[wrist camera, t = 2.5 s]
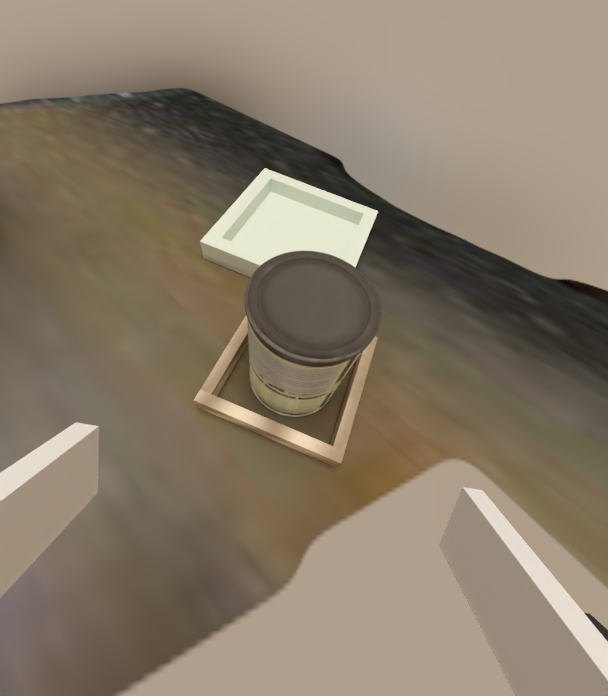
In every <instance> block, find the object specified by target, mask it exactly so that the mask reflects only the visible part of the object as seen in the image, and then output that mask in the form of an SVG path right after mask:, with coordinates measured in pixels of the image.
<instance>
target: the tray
mask: <svg viewBox="0 0 608 696" xmlns="http://www.w3.org/2000/svg"><path fill="white" fill-rule="evenodd" d="M377 213H378V211H376V210H373V209H371V208H368V207H366V206H363V205H360V204H358V203H355V202H352V201H350V200H347V199H345V198H342V197H339V196H337V195H334V194H331V193H329V192H326V191H323V190H321V189H318V188H316V187H313V186H310V185H308V184H305V183H302V182H300V181H297V180H295V179H292V178H289V177H287V176H284V175H281V174H279V173H276V172H274V171H271V170H268V169H266V168H264V170H263V171H262V172H261V173H260V174H259V175H258V176H257V177H256V179H255V180H254V181H253V182H252V183H251V184H250V185H249V187H248V188H247V189H246V190H245V191H244V192H243V193H242V194H241V196H240V197H239V198H238V199H237V200H236V201H235V202H234V203H233V205H232V206H231V207H230V208H229V209H228V210H227V211H226V212H225V214H224V215H223V216H222V217H221V218H220V219H219V220H218V222H217V223H216V224H215V225H214V226H213V227H212V228H211V229H210V231H209V232H208V233H207V234H206V235H205V236H204V237H203V238H202V240H201V241H200V244H201V249H202V254H203V259H206V260H208V261H211V262H213V263H216V264H218V265H220V266H223V267H225V268H228V269H230V270H233V271H235V272H238V273H240V274H243V275H245V276H248V277H250V278H251V276H252V275H253V273H254V272H255V271H256V270H257V268H259V267H260V266H261V265H262V264H263V263H264V262H266V261H268V260H269V259H271V258H273V257H275V256H278V255H280V254H284V253H288V252H293V251H316V252H322V253H326V254H330V255H333V256H335V257H338V258H340V259H342V260H344V261H346V262H347V263H349V264H351V265H352V266H354V267H356V265H357V262H358V260H359V257H360V255H361V252H362V250H363V248H364V245H365V243H366V240H367V238H368V235H369V233H370V230H371V228H372V225H373V223H374V220H375V218H376V215H377Z"/></svg>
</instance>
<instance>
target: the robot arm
mask: <svg viewBox="0 0 608 696" xmlns="http://www.w3.org/2000/svg"><path fill="white" fill-rule="evenodd" d="M98 448H99V426H94V425H88V424H82V423H74V424H73V425H71V426H70V427H68V428H67V429H65V430H64V431H62V432H61V433H59V434H58V435H56V436H55V437H53V438H52V439H50V440H49V441H47V442H46V443H44V444H43V445H41V446H40V447H38V448H37V449H35V450H34V451H32V452H31V453H29V454H28V455H26V456H25V457H23V458H22V459H20V460H19V461H17V462H16V463H14V464H13V465H11V466H10V467H8V468H7V469H5V470H4V471H2V472H1V473H0V598H1V597H2V596H3V594H4V593H5V592H6V591H7V590H8V589H9V588H10V587H11V586H12V585H13V584H14V583H15V581H16V580H17V579H18V578H19V577H20V576H21V575H22V574H23V573H24V572H25V571H26V570H27V568H28V567H29V566H30V565H31V564H32V563H33V562H34V561H35V560H36V559H37V558H38V557H39V556H40V554H41V553H42V552H43V551H44V550H45V549H46V548H47V547H48V546H49V545H50V544H51V543H52V541H53V540H54V539H55V538H56V537H57V536H58V535H59V534H60V533H61V532H62V531H63V530H64V528H65V527H66V526H67V525H68V524H69V523H70V522H71V521H72V520H73V519H74V518H75V517H76V515H77V514H78V513H79V512H80V511H81V510H82V509H83V508H84V507H85V506H86V505H87V504H88V502H89V501H90V500H91V499H92V498H93V497H94V496H95V495H96V494H97V493H98ZM440 547H441V549H442V551H443V553H444V555H445V557H446V559H447V561H448V563H449V565H450V567H451V569H452V571H453V573H454V575H455V577H456V579H457V581H458V583H459V585H460V587H461V589H462V591H463V593H464V595H465V597H466V599H467V601H468V603H469V605H470V607H471V609H472V611H473V613H474V615H475V617H476V619H477V621H478V622H479V625H480V627H481V629H482V631H483V633H484V635H485V637H486V638H487V641H488V643H489V645H490V646H491V649H492V650H493V653H494V654H495V656H496V658H497V660H498V662H499V664H500V666H501V668H502V670H503V672H504V674H505V676H506V678H507V680H508V682H509V684H510V686H511V688H512V690H513V692H514V694H515V696H608V630H607V629H606V628H605V627H604V626H603V625H601V624H600V623H599V622H598V621H597V620H596V619H595V618H594V617H593V616H591V615H590V614H587V613H584V612H583V611H582V610H581V609H580V608H579V606H578V605H577V604H576V603H575V602H574V601H573V599H572V598H571V597H570V596H569V594H568V593H567V592H566V591H565V590H564V588H563V587H562V586H561V585H560V584H559V582H558V581H557V580H556V579H555V577H554V576H553V575H552V574H551V573H550V571H549V570H548V569H547V568H546V567H545V565H544V564H543V563H542V562H541V561H540V559H539V558H538V557H537V556H536V555H535V553H534V552H533V551H532V550H531V548H530V547H529V546H528V545H527V544H526V542H525V541H524V540H523V539H522V538H521V536H520V535H519V534H518V533H517V532H516V530H515V529H514V528H513V527H512V526H511V525H510V523H509V522H508V521H507V519H506V518H505V517H504V516H503V515H502V514H501V512H500V511H499V510H498V509H497V507H496V506H495V505H494V504H493V503H492V501H491V500H490V499H489V498H488V497H487V495H486V494H485V493H484V492H483V491H482V490H477V489H471V488H464V487H463V488H462V490H461V493H460V495H459V498H458V500H457V503H456V505H455V508H454V510H453V513H452V515H451V517H450V520H449V523H448V525H447V527H446V530H445V532H444V535H443V537H442V540H441V542H440Z"/></svg>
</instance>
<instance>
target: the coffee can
mask: <svg viewBox="0 0 608 696" xmlns="http://www.w3.org/2000/svg"><path fill="white" fill-rule="evenodd" d="M245 310H246V315H247V323H248V342H249V363H250V372H249V378H250V384H251V387H252V390H253V392H254V394H255V395H256V397H257V398H258V400H259V401H260V402H261V403H262V404H263V405H264V406H265V407H266V408H268V409H269V410H271V411H273V412H275V413H277V414H280V415H283V416H288V417H302V416H306V415H310V414H312V413H315V412H317V411H318V410H320V409H321V408H322V407H324V406H325V405H326V404H327V403H328V401H329V400H330V398H331V397H332V395H333V393H334V391H335V390H336V388H337V387H338V385H339V384H340V383H341V381H342V380H343V378H344V377H345V375H346V374H347V372H348V371H349V369H350V368H351V367H352V365H353V364H354V362H355V361H356V359H357V358H358V356H359V355H360V354H361V352H362V351H363V350H364V349H365V348H366V347H367V346H368V345H369V344H370V343H371V341H372V340H373V339H374V337H375V335H376V333H377V331H378V329H379V326H380V321H381V305H380V301H379V298H378V295H377V293H376V291H375V289H374V287H373V286H372V284H371V283H370V281H369V280H368V279H367V278H366V276H365V275H364V274H363V273H361V272H360V271H359V270H358V269H356V268H355V267H354V266H352V265H351V264H349V263H347V262H346V261H344V260H342V259H340V258H338V257H335V256H333V255H330V254H326V253H322V252H316V251H293V252H288V253H284V254H280V255H278V256H275V257H273V258H271V259H269V260H268V261H266V262H264V263H263V264H262V265H261V266H260V267H259V268H257V270H256V271H255V272H254V273H253V275H252V276H251V278H250V280H249V282H248V284H247V287H246V291H245Z"/></svg>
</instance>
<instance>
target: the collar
mask: <svg viewBox="0 0 608 696" xmlns="http://www.w3.org/2000/svg"><path fill="white" fill-rule="evenodd" d="M376 342H377V337H374V339H373V340H372V341H371V343H370V344H369V345H368V346H367V347H366V348H365V349H364V350H363V351H362V352H361V354H360V355H359V356H358V358H357V360H356V364H355V367H354V370H353V373H352V376H351V379H350V382H349V385H348V388H347V391H346V395H345V398H344V401H343V404H342V407H341V410H340V413H339V416H338V419H337V423H336V426H335V429H334V432H333V435H332V438H331V441H330V444H326V443H324V442H322V441H319V440H317V439H315V438H312V437H310V436H308V435H305V434H303V433H301V432H298V431H296V430H294V429H291V428H289V427H287V426H284V425H282V424H280V423H277V422H275V421H273V420H270V419H268V418H266V417H263V416H261V415H259V414H256V413H254V412H252V411H249V410H247V409H245V408H242V407H240V406H238V405H235V404H233V403H231V402H228V401H226V400H224V399H221V398H219V397H218V395H219V393H220V391H221V390H222V388H223V386H224V385H225V383H226V381H227V379H228V378H229V376H230V374H231V372H232V371H233V369H234V367H235V365H236V364H237V362H238V360H239V358H240V357H241V355H242V353H243V352H244V350H245V348H246V346H247V345H248V343H249V342H248V323H247V315H246V317H245V318H244V320H243V321H242V323H241V325H240V326H239V328H238V329H237V331H236V333H235V334H234V336H233V338H232V339H231V341H230V342H229V344H228V346H227V347H226V349H225V350H224V352H223V354H222V355H221V357H220V359H219V360H218V362H217V363H216V365H215V367H214V368H213V370H212V371H211V373H210V375H209V376H208V378H207V380H206V381H205V383H204V384H203V386H202V388H201V389H200V391H199V392H198V394H197V396H196V397H195V399H194V402H195V403H196V405H197V407H198V408H200V409H202V410H204V411H207V412H209V413H211V414H214V415H216V416H218V417H220V418H223V419H225V420H227V421H230V422H232V423H234V424H237V425H239V426H241V427H244V428H246V429H248V430H251V431H253V432H255V433H257V434H260V435H262V436H264V437H267V438H269V439H271V440H274V441H276V442H278V443H281V444H283V445H285V446H288V447H290V448H292V449H294V450H297V451H299V452H301V453H304V454H306V455H308V456H311V457H313V458H315V459H318V460H320V461H322V462H325V463H327V464H329V465H331V466H334V467H335V466H337V465H339V464H341V462H342V459H343V455H344V452H345V449H346V445H347V442H348V438H349V435H350V431H351V428H352V424H353V421H354V418H355V414H356V411H357V407H358V404H359V400H360V397H361V393H362V390H363V387H364V383H365V380H366V376H367V373H368V369H369V366H370V362H371V359H372V356H373V352H374V349H375V345H376Z"/></svg>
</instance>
